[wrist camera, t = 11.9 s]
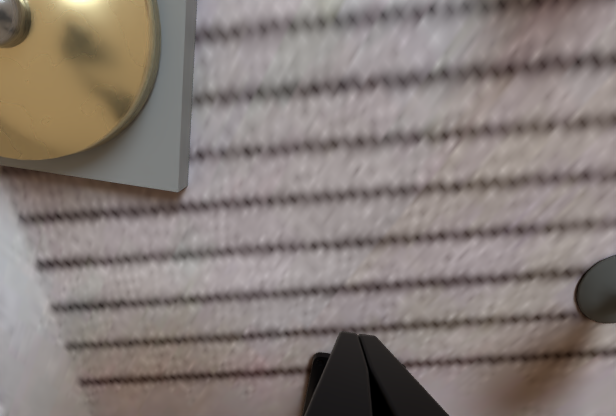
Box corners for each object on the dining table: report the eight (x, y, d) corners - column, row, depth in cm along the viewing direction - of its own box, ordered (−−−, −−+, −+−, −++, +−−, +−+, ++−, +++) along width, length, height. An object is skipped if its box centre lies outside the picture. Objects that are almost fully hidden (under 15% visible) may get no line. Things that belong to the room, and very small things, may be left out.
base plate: (187, 185, 20) (177, 192, 19) (-70, 146, 20) (-99, 150, 19) (203, -125, 16) (192, -147, 15) (-127, -183, 16) (-171, -212, 14)
